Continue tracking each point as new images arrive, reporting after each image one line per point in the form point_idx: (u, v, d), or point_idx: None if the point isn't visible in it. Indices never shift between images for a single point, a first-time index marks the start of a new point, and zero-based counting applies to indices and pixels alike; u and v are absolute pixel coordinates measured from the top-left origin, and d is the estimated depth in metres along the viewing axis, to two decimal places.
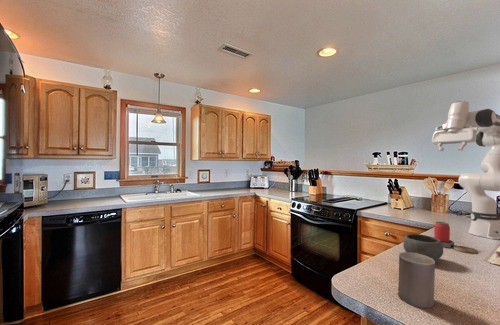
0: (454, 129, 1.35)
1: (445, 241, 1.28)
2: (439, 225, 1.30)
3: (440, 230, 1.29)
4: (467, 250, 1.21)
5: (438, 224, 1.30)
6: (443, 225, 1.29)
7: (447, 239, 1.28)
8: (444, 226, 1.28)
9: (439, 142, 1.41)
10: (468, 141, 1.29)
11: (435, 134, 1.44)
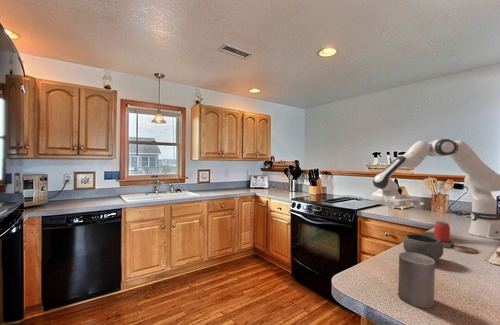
0: (398, 205, 1.52)
1: (445, 241, 1.28)
2: (439, 225, 1.30)
3: (440, 230, 1.29)
4: (467, 250, 1.21)
5: (438, 224, 1.30)
6: (443, 225, 1.29)
7: (447, 239, 1.28)
8: (444, 226, 1.28)
9: (416, 204, 1.49)
10: (402, 203, 1.43)
11: None
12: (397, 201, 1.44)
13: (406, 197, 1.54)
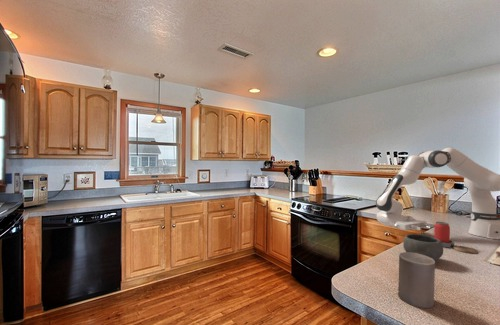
0: None
1: (445, 241, 1.28)
2: (439, 225, 1.30)
3: (440, 230, 1.29)
4: (467, 250, 1.21)
5: (438, 224, 1.30)
6: (443, 225, 1.29)
7: (447, 239, 1.28)
8: (444, 226, 1.28)
9: (422, 227, 1.46)
10: (409, 227, 1.40)
11: None
12: (403, 225, 1.41)
13: (412, 219, 1.51)
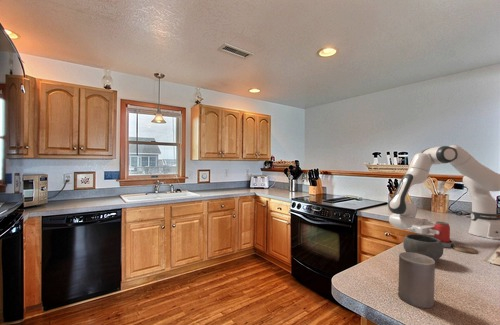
0: None
1: (445, 241, 1.28)
2: (439, 225, 1.30)
3: (440, 230, 1.29)
4: (467, 250, 1.21)
5: (438, 224, 1.30)
6: (443, 225, 1.29)
7: (447, 239, 1.28)
8: (444, 226, 1.28)
9: None
10: (426, 231, 1.32)
11: None
12: (420, 229, 1.32)
13: (428, 222, 1.42)
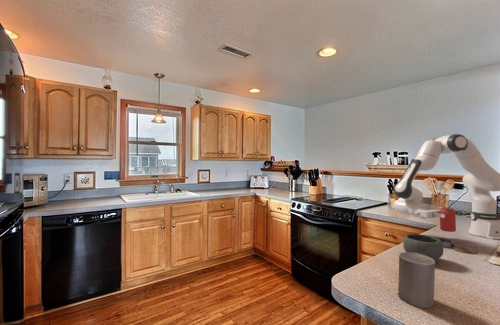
0: None
1: (451, 226, 1.26)
2: (444, 210, 1.28)
3: None
4: (467, 250, 1.21)
5: (443, 209, 1.29)
6: (448, 210, 1.27)
7: (453, 224, 1.26)
8: (449, 211, 1.27)
9: None
10: (431, 215, 1.30)
11: None
12: (425, 212, 1.30)
13: (433, 207, 1.40)
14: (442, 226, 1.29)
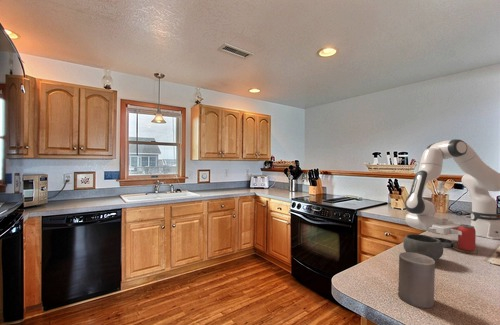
0: None
1: (470, 245, 1.19)
2: (464, 228, 1.21)
3: (465, 233, 1.20)
4: None
5: (463, 227, 1.22)
6: (468, 228, 1.20)
7: (473, 243, 1.19)
8: (469, 229, 1.20)
9: None
10: (448, 231, 1.23)
11: None
12: (441, 229, 1.24)
13: (448, 222, 1.34)
14: (461, 245, 1.22)
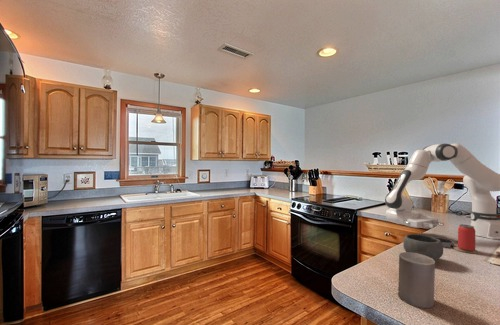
0: None
1: (470, 245, 1.19)
2: (464, 228, 1.21)
3: (464, 233, 1.20)
4: None
5: (462, 227, 1.22)
6: (468, 228, 1.20)
7: (473, 243, 1.19)
8: (469, 229, 1.20)
9: (434, 224, 1.41)
10: (421, 225, 1.35)
11: None
12: (415, 222, 1.36)
13: (423, 216, 1.46)
14: (461, 245, 1.22)
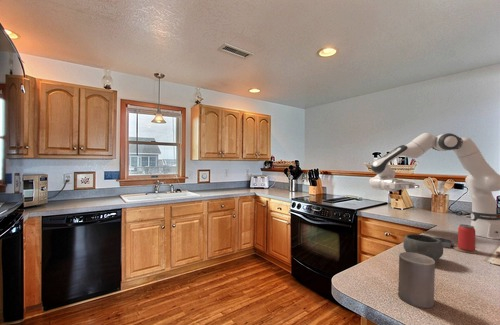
0: (394, 189, 1.58)
1: (470, 245, 1.19)
2: (464, 228, 1.21)
3: (464, 233, 1.20)
4: None
5: (462, 227, 1.22)
6: (468, 228, 1.20)
7: (473, 243, 1.19)
8: (469, 229, 1.20)
9: (411, 188, 1.54)
10: (398, 186, 1.49)
11: None
12: (393, 184, 1.50)
13: (402, 181, 1.60)
14: (461, 245, 1.22)
